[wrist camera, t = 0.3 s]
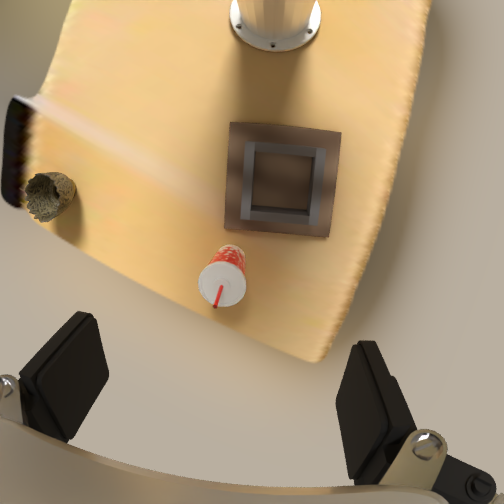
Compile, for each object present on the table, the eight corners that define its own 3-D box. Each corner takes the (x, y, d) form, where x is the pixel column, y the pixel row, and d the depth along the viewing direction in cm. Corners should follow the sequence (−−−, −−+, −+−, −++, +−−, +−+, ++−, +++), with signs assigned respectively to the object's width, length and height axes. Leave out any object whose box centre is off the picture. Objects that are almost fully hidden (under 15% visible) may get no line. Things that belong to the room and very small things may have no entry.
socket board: (230, 122, 40) (226, 120, 36) (339, 132, 39) (347, 132, 35) (225, 226, 45) (220, 236, 41) (327, 235, 45) (333, 245, 41)
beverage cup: (212, 236, 46) (190, 277, 33) (253, 243, 46) (246, 287, 33) (208, 273, 48) (186, 323, 35) (247, 280, 48) (238, 333, 35)
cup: (63, 216, 46) (36, 230, 39) (48, 179, 44) (18, 188, 36) (92, 197, 45) (65, 210, 37) (76, 158, 42) (46, 164, 35)
